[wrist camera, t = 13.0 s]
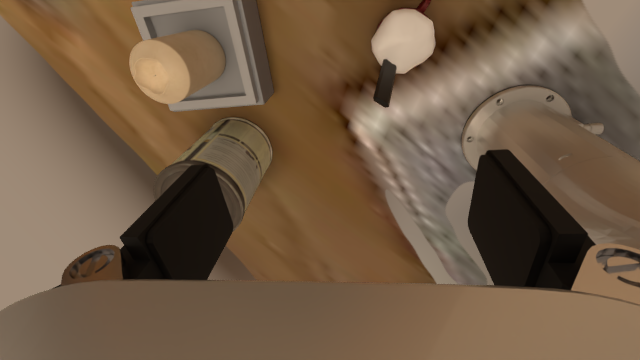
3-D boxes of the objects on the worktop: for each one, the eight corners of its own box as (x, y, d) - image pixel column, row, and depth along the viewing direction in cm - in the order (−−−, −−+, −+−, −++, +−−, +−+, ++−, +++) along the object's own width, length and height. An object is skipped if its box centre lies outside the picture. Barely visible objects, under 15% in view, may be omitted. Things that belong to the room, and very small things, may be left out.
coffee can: (261, 187, 49) (230, 249, 37) (201, 161, 47) (148, 217, 35) (282, 134, 43) (253, 188, 31) (215, 104, 42) (158, 148, 30)
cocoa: (418, -13, 32) (448, -27, 22) (445, 37, 34) (485, 46, 24) (347, 45, 36) (343, 57, 25) (375, 87, 38) (383, 115, 27)
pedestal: (253, -13, 34) (233, -15, 28) (274, 92, 40) (261, 107, 35) (158, 1, 36) (123, 2, 30) (192, 99, 42) (168, 115, 37)
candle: (234, 75, 34) (193, 102, 26) (192, 85, 36) (140, 114, 27) (214, 23, 32) (161, 34, 23) (170, 36, 33) (104, 51, 24)
